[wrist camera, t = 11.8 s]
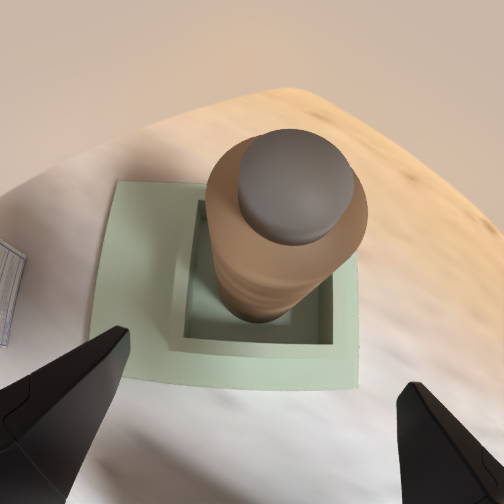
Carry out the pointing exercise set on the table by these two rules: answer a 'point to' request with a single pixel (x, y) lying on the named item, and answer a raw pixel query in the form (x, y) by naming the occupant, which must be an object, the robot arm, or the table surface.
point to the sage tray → (211, 305)
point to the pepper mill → (281, 220)
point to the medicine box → (8, 286)
